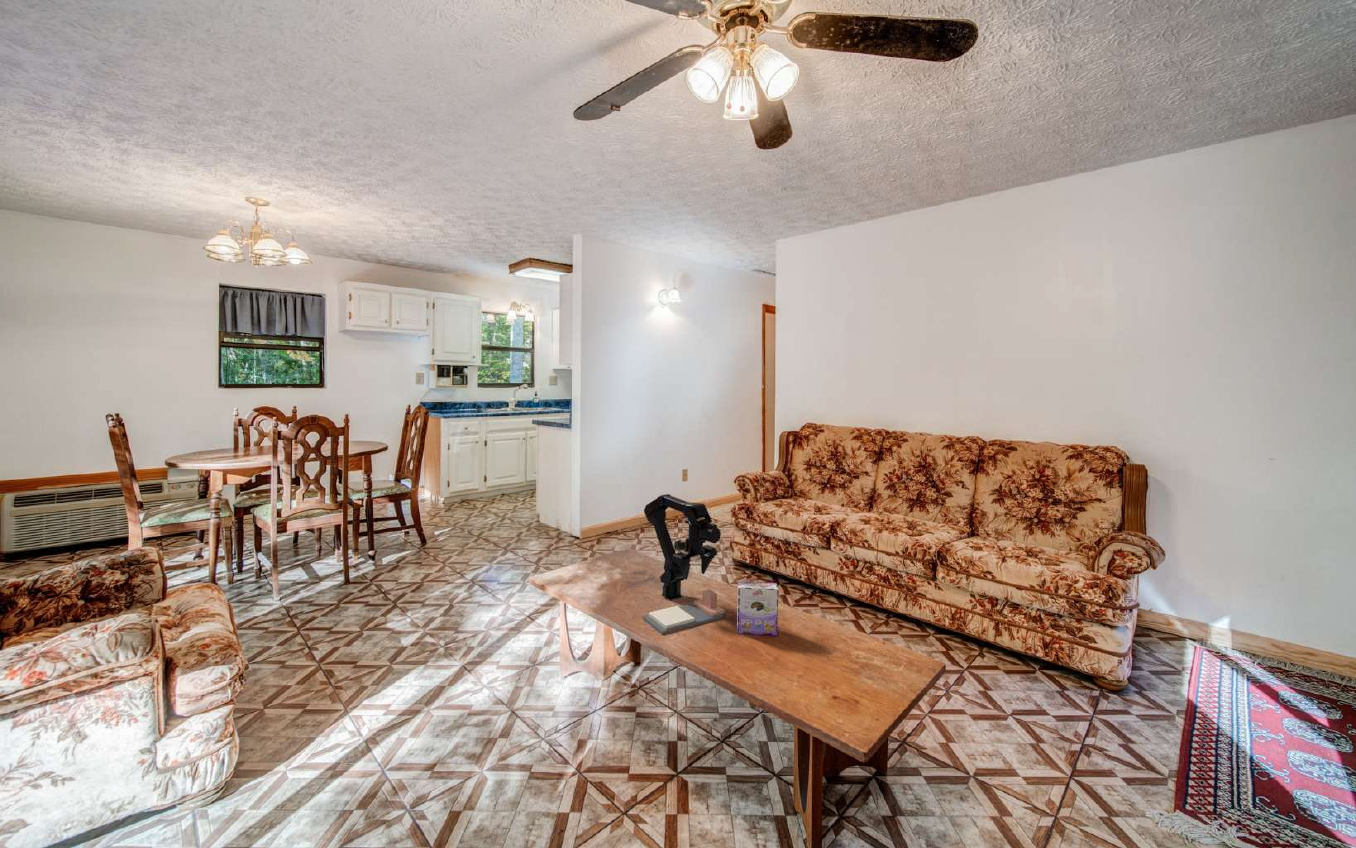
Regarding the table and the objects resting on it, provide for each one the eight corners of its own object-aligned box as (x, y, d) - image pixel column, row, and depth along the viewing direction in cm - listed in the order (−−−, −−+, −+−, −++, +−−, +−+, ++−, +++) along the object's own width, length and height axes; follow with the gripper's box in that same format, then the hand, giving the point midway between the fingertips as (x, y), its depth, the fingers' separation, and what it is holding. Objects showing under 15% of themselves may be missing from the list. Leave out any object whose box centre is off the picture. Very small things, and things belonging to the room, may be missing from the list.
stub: (705, 601, 203) (706, 585, 203) (724, 613, 193) (725, 596, 192) (693, 604, 200) (694, 588, 199) (712, 616, 190) (712, 599, 189)
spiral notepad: (678, 608, 196) (678, 605, 196) (696, 621, 186) (696, 617, 186) (648, 615, 189) (648, 612, 189) (665, 629, 179) (665, 625, 179)
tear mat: (701, 604, 203) (701, 601, 203) (723, 617, 191) (723, 615, 191) (642, 618, 189) (642, 616, 189) (662, 634, 178) (662, 631, 177)
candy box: (776, 628, 184) (777, 582, 183) (777, 636, 178) (779, 589, 177) (736, 625, 185) (737, 580, 184) (736, 633, 179) (738, 587, 178)
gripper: (698, 527, 211) (697, 565, 212) (663, 535, 198) (662, 575, 200) (718, 534, 203) (716, 573, 204) (683, 543, 190) (682, 584, 191)
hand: (694, 576), depth 200 cm, fingers open, 9 cm apart
